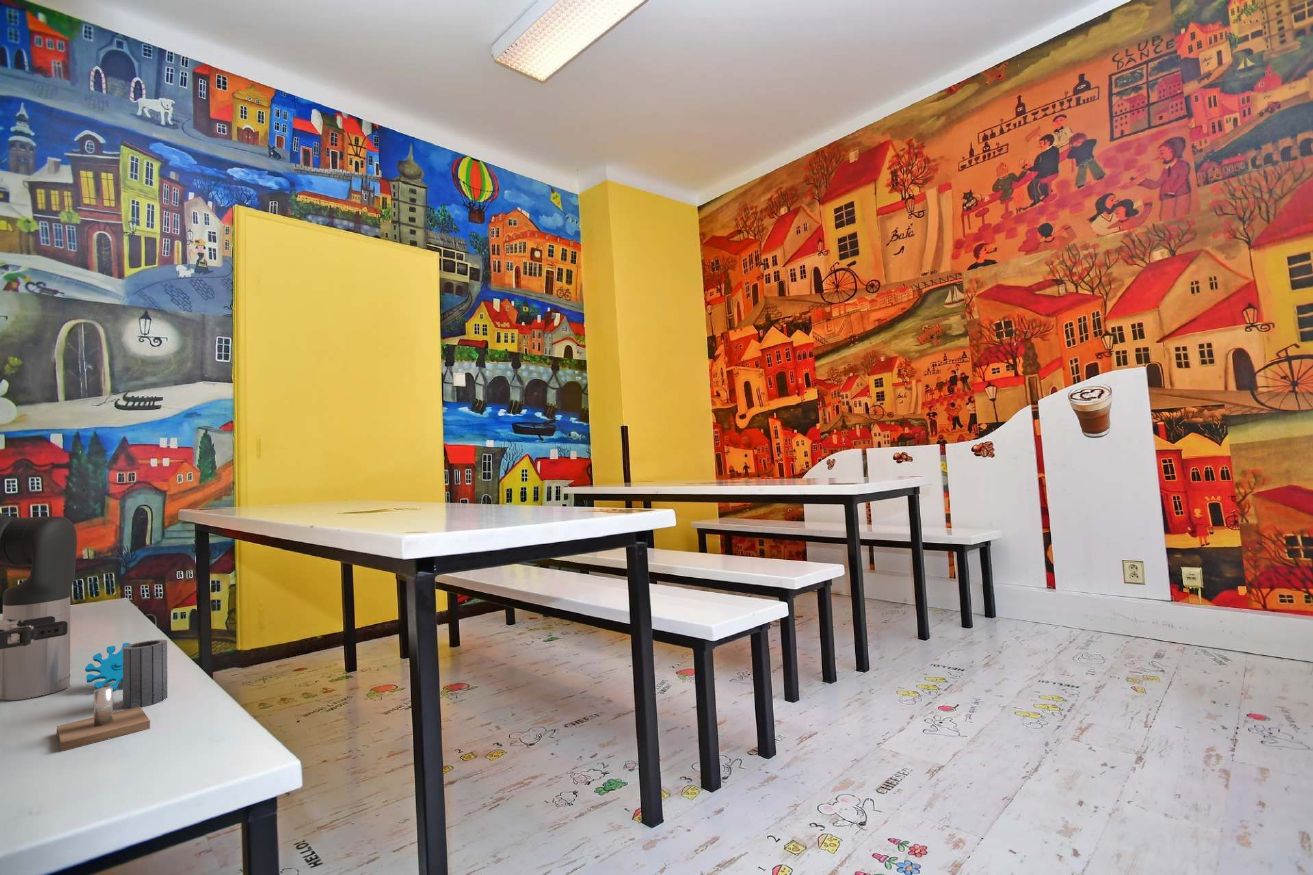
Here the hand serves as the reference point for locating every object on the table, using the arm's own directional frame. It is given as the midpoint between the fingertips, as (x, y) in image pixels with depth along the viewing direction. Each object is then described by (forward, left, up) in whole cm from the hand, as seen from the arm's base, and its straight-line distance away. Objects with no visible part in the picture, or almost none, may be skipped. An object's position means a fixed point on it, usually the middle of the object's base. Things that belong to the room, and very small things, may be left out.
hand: (60, 624), depth 102 cm
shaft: (+9, -6, -15) cm, 19 cm away
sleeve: (+8, +7, -16) cm, 19 cm away
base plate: (+9, -6, -16) cm, 20 cm away
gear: (-2, +20, -16) cm, 26 cm away
